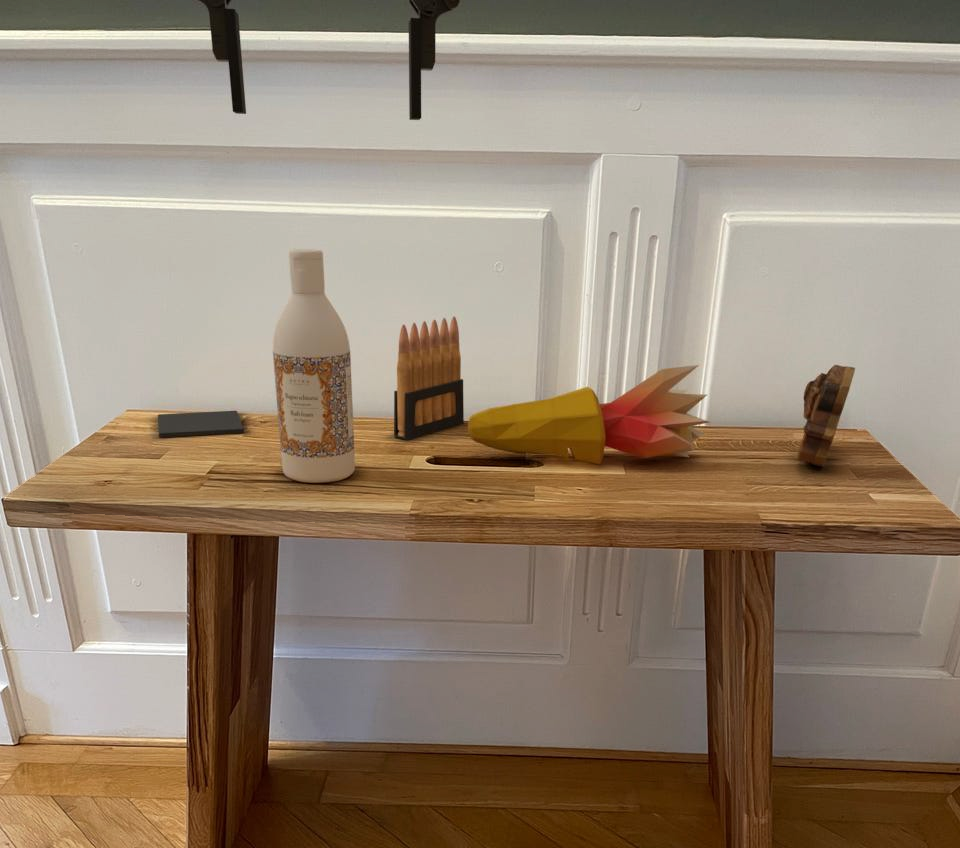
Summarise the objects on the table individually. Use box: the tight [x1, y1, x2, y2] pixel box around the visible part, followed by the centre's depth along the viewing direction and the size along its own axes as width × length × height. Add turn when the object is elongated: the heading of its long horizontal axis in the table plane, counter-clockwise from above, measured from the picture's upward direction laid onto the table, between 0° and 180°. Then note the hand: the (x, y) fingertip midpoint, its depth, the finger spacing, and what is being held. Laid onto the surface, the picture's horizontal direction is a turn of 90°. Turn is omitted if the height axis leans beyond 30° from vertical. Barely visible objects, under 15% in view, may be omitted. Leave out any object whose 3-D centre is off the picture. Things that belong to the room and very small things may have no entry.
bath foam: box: [272, 248, 356, 484], centre depth 83 cm, size 7×7×20 cm
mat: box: [157, 410, 245, 439], centre depth 104 cm, size 9×9×1 cm
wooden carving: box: [797, 364, 856, 468], centre depth 93 cm, size 16×5×10 cm, turn 162°
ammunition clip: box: [393, 316, 465, 441], centre depth 101 cm, size 11×2×12 cm, turn 144°
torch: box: [467, 364, 711, 465], centre depth 93 cm, size 8×8×25 cm
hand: (328, 116), depth 71 cm, fingers open, 13 cm apart
